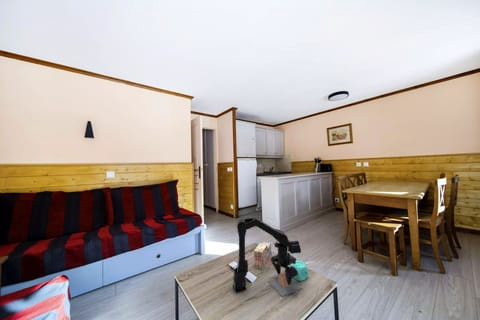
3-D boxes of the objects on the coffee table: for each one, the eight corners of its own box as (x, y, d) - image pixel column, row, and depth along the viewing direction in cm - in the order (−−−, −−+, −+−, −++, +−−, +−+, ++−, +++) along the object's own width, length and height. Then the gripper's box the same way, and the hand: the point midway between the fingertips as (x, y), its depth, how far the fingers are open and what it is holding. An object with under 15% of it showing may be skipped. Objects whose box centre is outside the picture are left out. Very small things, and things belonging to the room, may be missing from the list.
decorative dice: (308, 278, 109) (307, 265, 109) (299, 282, 106) (298, 269, 106) (299, 271, 116) (298, 259, 117) (289, 275, 113) (289, 262, 113)
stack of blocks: (264, 253, 142) (263, 238, 142) (271, 254, 139) (270, 239, 139) (254, 268, 123) (253, 250, 123) (263, 270, 120) (262, 252, 120)
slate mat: (281, 297, 95) (281, 295, 95) (268, 281, 108) (268, 280, 108) (301, 288, 100) (301, 287, 100) (286, 274, 113) (286, 274, 113)
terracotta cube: (283, 288, 101) (283, 279, 101) (278, 282, 105) (277, 274, 106) (290, 285, 103) (289, 276, 103) (285, 280, 107) (284, 272, 108)
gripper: (304, 257, 99) (306, 285, 99) (284, 244, 116) (285, 267, 116) (288, 262, 95) (290, 291, 94) (269, 248, 112) (271, 272, 112)
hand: (284, 279), depth 104 cm, fingers open, 9 cm apart
